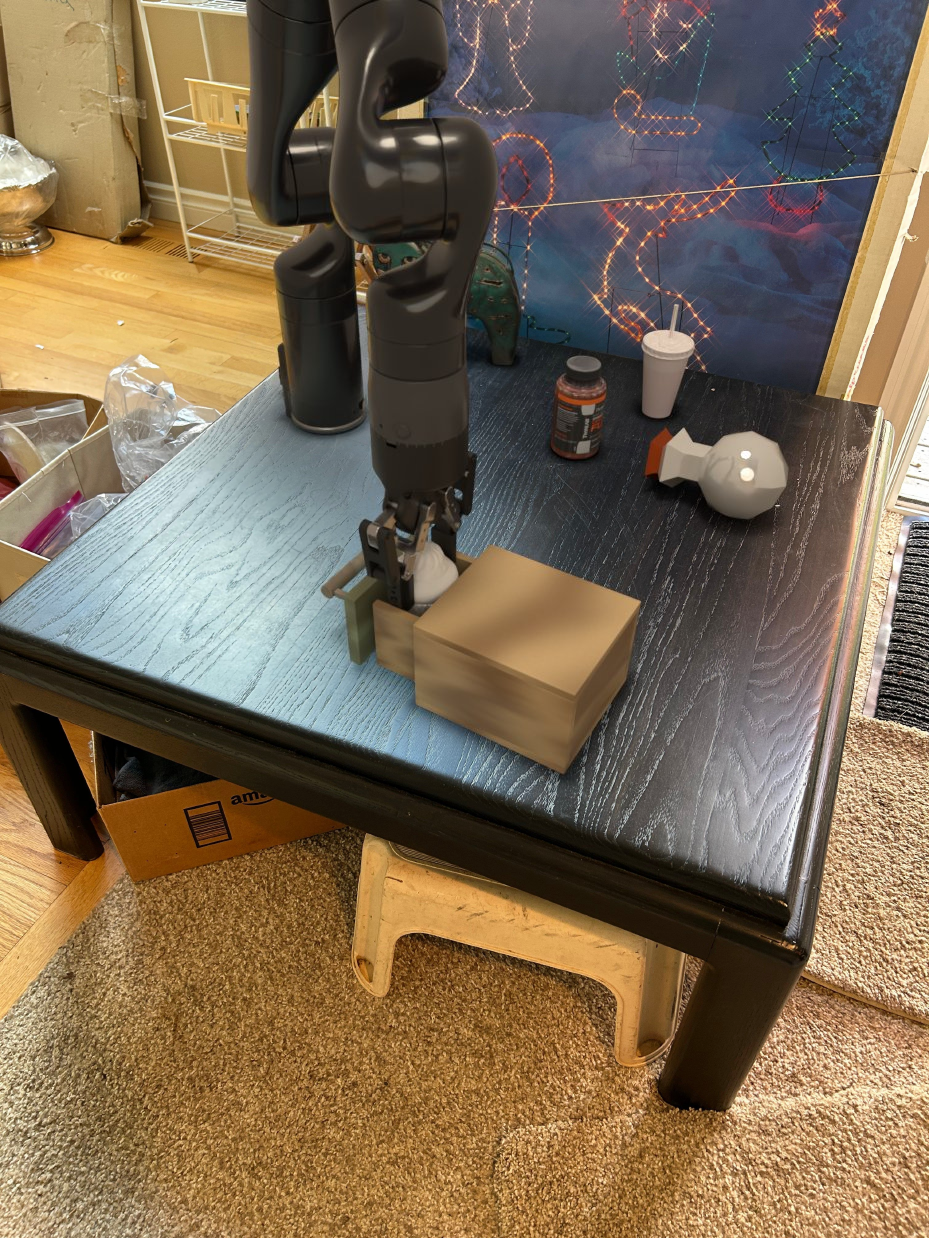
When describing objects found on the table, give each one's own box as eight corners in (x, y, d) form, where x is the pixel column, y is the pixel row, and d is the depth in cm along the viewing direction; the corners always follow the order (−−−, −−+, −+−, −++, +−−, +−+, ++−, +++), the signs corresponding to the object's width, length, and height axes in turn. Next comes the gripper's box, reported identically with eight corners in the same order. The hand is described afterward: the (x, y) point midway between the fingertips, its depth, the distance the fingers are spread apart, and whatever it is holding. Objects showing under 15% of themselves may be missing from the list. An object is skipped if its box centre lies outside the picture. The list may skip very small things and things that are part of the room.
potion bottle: (773, 543, 99) (649, 509, 107) (806, 465, 101) (681, 437, 108) (763, 508, 91) (630, 474, 99) (799, 424, 93) (665, 397, 100)
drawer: (310, 642, 84) (301, 578, 78) (381, 575, 91) (377, 512, 86) (477, 720, 77) (479, 655, 72) (539, 641, 84) (546, 577, 79)
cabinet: (415, 704, 79) (412, 624, 73) (487, 621, 87) (490, 543, 81) (563, 774, 74) (574, 695, 67) (626, 680, 82) (641, 600, 75)
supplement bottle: (596, 464, 108) (607, 378, 100) (546, 458, 109) (554, 372, 101) (600, 438, 112) (612, 354, 105) (553, 433, 113) (560, 348, 105)
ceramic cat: (376, 359, 127) (367, 211, 114) (386, 339, 132) (379, 194, 118) (515, 372, 125) (524, 222, 111) (521, 351, 130) (530, 205, 116)
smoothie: (688, 407, 118) (709, 303, 109) (669, 428, 114) (689, 323, 105) (643, 394, 121) (660, 291, 111) (623, 414, 117) (639, 309, 107)
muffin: (378, 618, 80) (373, 556, 75) (406, 577, 84) (404, 516, 79) (442, 637, 78) (442, 574, 73) (468, 593, 82) (470, 532, 77)
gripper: (429, 363, 74) (431, 528, 85) (320, 443, 65) (339, 615, 76) (509, 388, 71) (500, 555, 82) (407, 474, 62) (413, 648, 73)
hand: (423, 583), depth 79 cm, fingers closed on muffin, 6 cm apart
